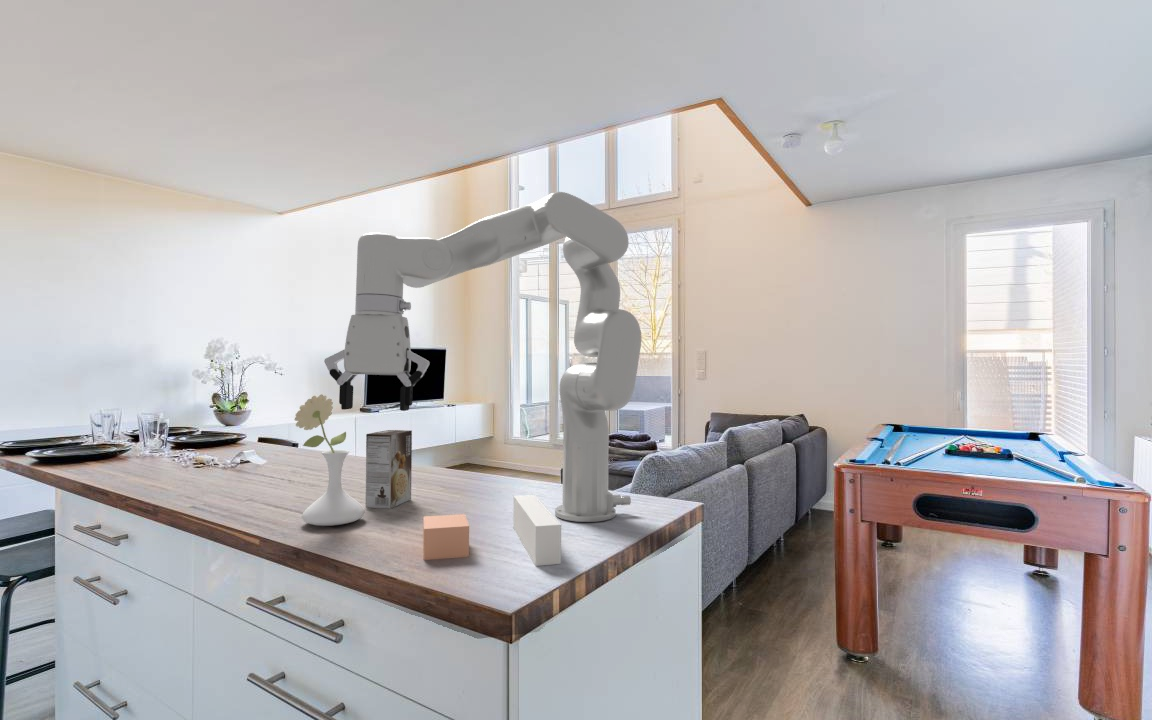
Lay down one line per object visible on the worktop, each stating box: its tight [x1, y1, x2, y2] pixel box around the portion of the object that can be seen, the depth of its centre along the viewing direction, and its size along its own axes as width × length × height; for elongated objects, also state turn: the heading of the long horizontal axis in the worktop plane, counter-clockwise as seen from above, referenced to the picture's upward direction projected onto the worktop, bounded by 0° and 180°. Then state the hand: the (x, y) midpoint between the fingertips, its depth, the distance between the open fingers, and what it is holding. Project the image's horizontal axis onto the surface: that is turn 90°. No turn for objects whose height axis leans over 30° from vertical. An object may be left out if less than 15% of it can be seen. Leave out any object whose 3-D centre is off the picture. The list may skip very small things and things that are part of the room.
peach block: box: [422, 513, 470, 561], centre depth 92 cm, size 7×8×5 cm
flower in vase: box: [293, 393, 366, 527], centre depth 108 cm, size 13×11×25 cm
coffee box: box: [365, 429, 413, 510], centre depth 125 cm, size 9×6×16 cm
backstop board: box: [512, 494, 562, 567], centre depth 96 cm, size 4×22×6 cm, turn 15°
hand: (375, 409), depth 94 cm, fingers open, 9 cm apart
